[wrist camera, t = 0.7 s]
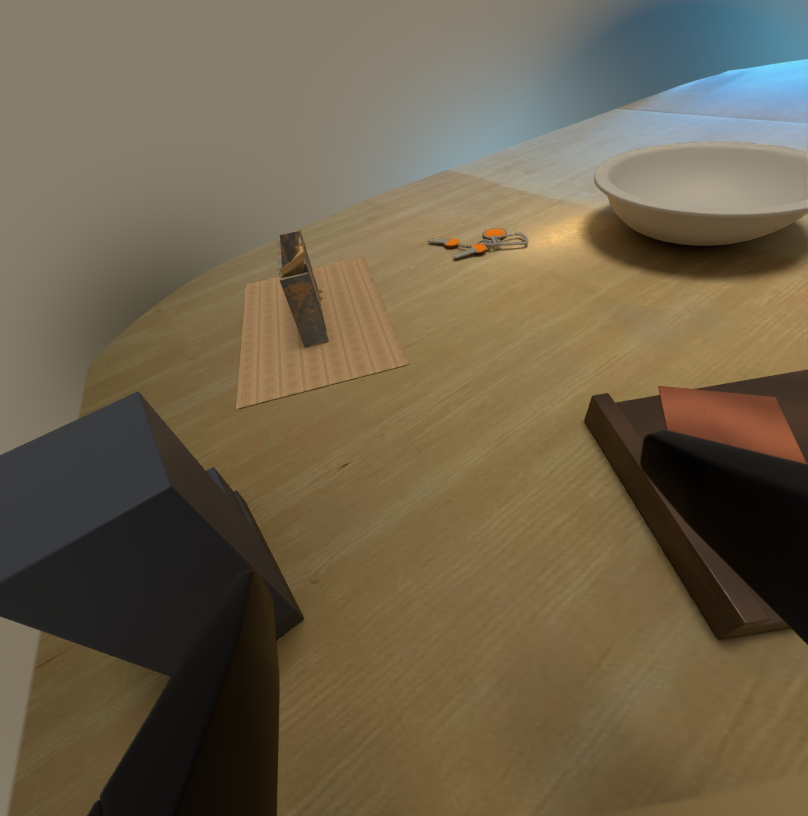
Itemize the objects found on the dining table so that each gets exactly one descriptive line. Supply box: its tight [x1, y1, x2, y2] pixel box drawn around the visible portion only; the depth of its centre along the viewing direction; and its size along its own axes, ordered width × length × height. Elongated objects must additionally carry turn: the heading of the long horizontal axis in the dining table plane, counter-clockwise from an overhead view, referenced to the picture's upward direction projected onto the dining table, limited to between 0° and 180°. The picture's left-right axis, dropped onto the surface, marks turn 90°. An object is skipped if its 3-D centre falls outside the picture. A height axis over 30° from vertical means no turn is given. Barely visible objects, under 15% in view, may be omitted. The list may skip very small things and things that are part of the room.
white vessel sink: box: [594, 142, 808, 246], centre depth 46 cm, size 24×24×7 cm
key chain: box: [428, 228, 528, 259], centre depth 52 cm, size 13×7×1 cm, turn 94°
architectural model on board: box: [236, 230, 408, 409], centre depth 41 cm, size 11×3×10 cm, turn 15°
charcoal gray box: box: [0, 392, 304, 677], centre depth 19 cm, size 10×6×14 cm, turn 37°
